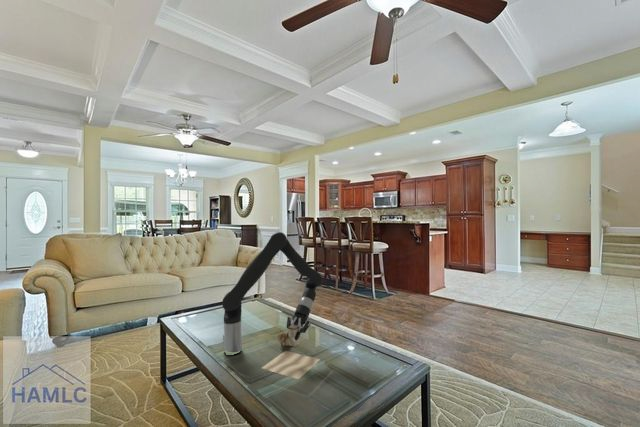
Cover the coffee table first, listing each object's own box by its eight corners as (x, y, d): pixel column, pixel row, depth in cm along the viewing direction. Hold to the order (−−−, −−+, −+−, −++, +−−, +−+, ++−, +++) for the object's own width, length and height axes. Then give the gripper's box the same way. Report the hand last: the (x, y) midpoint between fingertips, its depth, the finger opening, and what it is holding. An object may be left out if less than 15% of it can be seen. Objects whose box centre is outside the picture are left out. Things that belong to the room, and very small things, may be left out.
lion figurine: (283, 351, 159) (283, 334, 159) (275, 349, 162) (275, 333, 162) (298, 340, 172) (297, 325, 172) (290, 338, 175) (290, 324, 175)
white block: (288, 345, 145) (288, 327, 145) (293, 341, 148) (292, 324, 148) (295, 346, 143) (294, 328, 143) (299, 343, 146) (299, 325, 146)
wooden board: (261, 369, 141) (261, 368, 141) (285, 351, 158) (285, 350, 158) (298, 380, 130) (298, 379, 130) (320, 360, 148) (320, 359, 148)
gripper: (290, 302, 156) (277, 332, 145) (313, 305, 149) (300, 338, 138) (296, 309, 160) (283, 339, 150) (318, 313, 153) (306, 345, 143)
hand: (291, 338), depth 144 cm, fingers closed on white block, 4 cm apart
